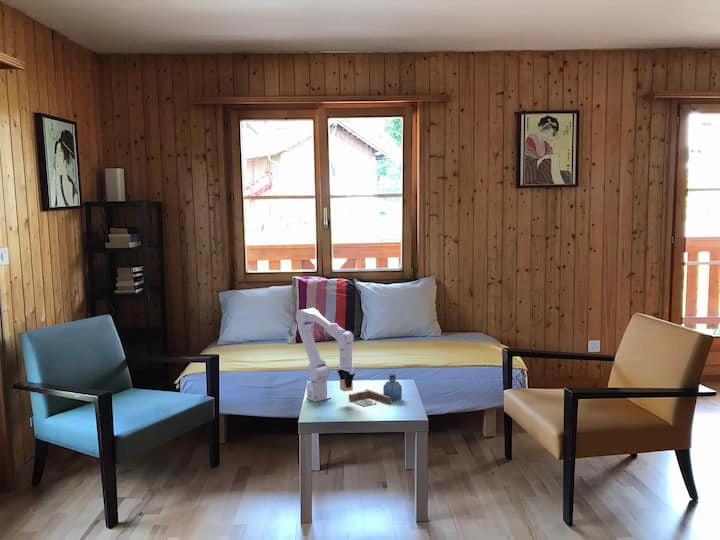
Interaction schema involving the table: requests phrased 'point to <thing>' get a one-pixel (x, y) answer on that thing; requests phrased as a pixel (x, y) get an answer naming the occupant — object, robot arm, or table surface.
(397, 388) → the perfume bottle
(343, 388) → the terracotta cube
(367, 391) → the corner arena
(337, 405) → the table surface
